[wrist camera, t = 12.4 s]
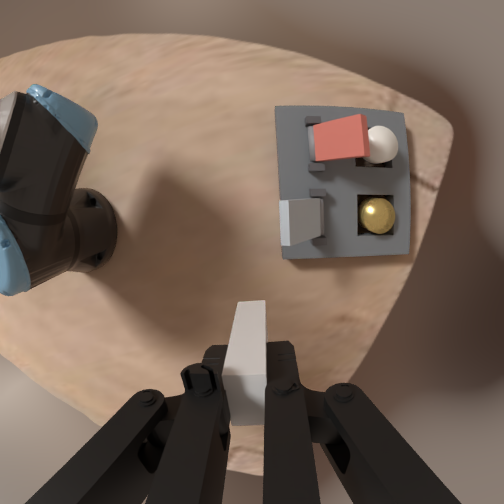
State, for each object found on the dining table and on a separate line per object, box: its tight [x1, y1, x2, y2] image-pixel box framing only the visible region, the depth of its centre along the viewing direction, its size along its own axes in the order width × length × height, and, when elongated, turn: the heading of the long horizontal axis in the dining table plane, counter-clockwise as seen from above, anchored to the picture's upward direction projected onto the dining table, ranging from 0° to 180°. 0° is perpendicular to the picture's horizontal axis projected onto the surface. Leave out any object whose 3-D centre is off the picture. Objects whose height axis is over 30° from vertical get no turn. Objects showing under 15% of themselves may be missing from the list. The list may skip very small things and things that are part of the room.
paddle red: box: [308, 114, 370, 162], centre depth 31 cm, size 2×5×9 cm
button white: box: [362, 126, 398, 164], centre depth 33 cm, size 5×5×4 cm
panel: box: [275, 106, 411, 259], centre depth 37 cm, size 20×22×5 cm
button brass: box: [357, 198, 395, 234], centre depth 37 cm, size 5×5×4 cm
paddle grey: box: [279, 198, 324, 246], centre depth 34 cm, size 2×5×9 cm
